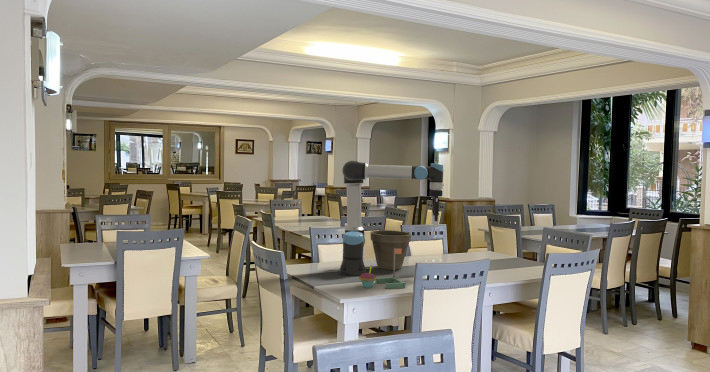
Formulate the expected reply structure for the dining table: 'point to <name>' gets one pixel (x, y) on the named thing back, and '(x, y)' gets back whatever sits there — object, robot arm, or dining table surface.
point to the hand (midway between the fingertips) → (434, 225)
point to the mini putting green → (394, 282)
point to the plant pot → (389, 247)
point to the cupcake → (367, 278)
